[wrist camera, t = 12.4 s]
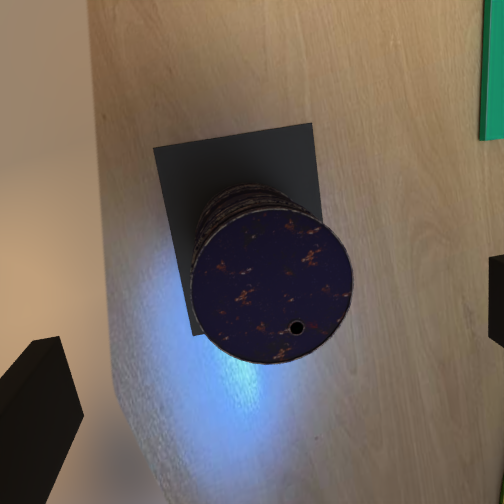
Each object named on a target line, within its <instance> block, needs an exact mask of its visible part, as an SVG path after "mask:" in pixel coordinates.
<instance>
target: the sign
mask: <svg viewBox="0 0 504 504" xmlns="http://www.w3.org/2000/svg"><path fill="white" fill-rule="evenodd" d="M496 139H504V0H485V9H484V35H483V62H482V88H481V114H480V141H487V140H496Z"/></svg>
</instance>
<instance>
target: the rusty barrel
mask: <svg viewBox="0 0 504 504" xmlns="http://www.w3.org/2000/svg"><path fill="white" fill-rule="evenodd" d="M353 288H354V278H353V269H352V265H351V261H350V258H349V256H348V253H347V251H346V249H345V247H344V245H343V244H342V242H341V241H340V239H339V238H338V237H337V236H336V235H335V234H334V232H333V231H332V230H331V229H330V228H329V227H327V226H326V225H325V224H323V223H322V221H321V220H320V219H319V218H317V217H316V216H315V215H313V214H312V213H311V212H309V211H308V210H307V209H305V208H304V207H303V206H301V205H299V204H297V203H295V202H294V201H293V200H292V199H290V198H289V197H288V196H287V195H285V194H284V193H282V192H280V191H278V190H277V189H274V188H272V187H269V186H266V185H264V184H259V183H241V184H236V185H233V186H230V187H228V188H226V189H224V190H222V191H220V192H219V193H218V194H216V195H215V196H214V197H213V198H212V199H211V200H210V201H209V202H208V204H207V205H206V206H205V208H204V210H203V212H202V214H201V216H200V219H199V221H198V224H197V228H196V233H195V246H194V249H193V254H192V261H191V270H190V299H191V304H192V309H193V312H194V315H195V318H196V320H197V323H198V324H199V326H200V328H201V329H202V331H203V333H204V334H205V335H206V336H207V337H208V339H209V340H210V341H211V342H212V343H213V344H214V345H216V346H217V347H218V348H219V349H220V350H222V351H223V352H225V353H227V354H228V355H230V356H232V357H234V358H237V359H239V360H242V361H246V362H250V363H254V364H263V365H269V364H281V363H287V362H291V361H294V360H297V359H300V358H302V357H304V356H306V355H308V354H311V353H312V352H314V351H315V350H317V349H318V348H320V347H321V346H323V345H324V344H325V343H326V342H327V341H328V340H329V339H330V338H331V337H332V336H333V335H334V334H335V332H336V331H337V330H338V329H339V327H340V326H341V324H342V322H343V321H344V319H345V317H346V315H347V313H348V310H349V308H350V305H351V301H352V296H353Z"/></svg>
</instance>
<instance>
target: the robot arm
mask: <svg viewBox="0 0 504 504" xmlns="http://www.w3.org/2000/svg"><path fill="white" fill-rule="evenodd" d="M488 337H489V338H491V339H492V340H493V341H495V342H496V343H498V344H499V345H500V346H502V347H503V348H504V255H498V256H493V257H489V312H488ZM83 417H84V414H83V411H82V407H81V404H80V401H79V398H78V394H77V391H76V388H75V385H74V382H73V379H72V375H71V372H70V369H69V366H68V362H67V359H66V356H65V353H64V349H63V346H62V343H61V340H60V337H59V336H56V337H51V338H45V339H40V340H34V341H32V342H31V343H30V344H29V346H28V347H27V348H26V349H25V350H24V351H23V352H22V354H21V355H20V356H19V357H18V358H17V360H16V361H15V362H14V363H13V364H12V365H11V366H10V368H9V369H8V370H7V371H6V372H5V374H4V375H3V376H2V377H1V378H0V504H46V501H47V499H48V497H49V494H50V492H51V490H52V488H53V485H54V483H55V481H56V479H57V476H58V474H59V471H60V469H61V467H62V465H63V463H64V460H65V458H66V456H67V454H68V451H69V449H70V447H71V444H72V442H73V440H74V438H75V435H76V433H77V431H78V429H79V426H80V424H81V422H82V419H83Z"/></svg>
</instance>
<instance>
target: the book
mask: <svg viewBox="0 0 504 504" xmlns="http://www.w3.org/2000/svg"><path fill="white" fill-rule="evenodd" d="M499 504H504V476H503V482H502V489H501V495H500V502H499Z"/></svg>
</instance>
